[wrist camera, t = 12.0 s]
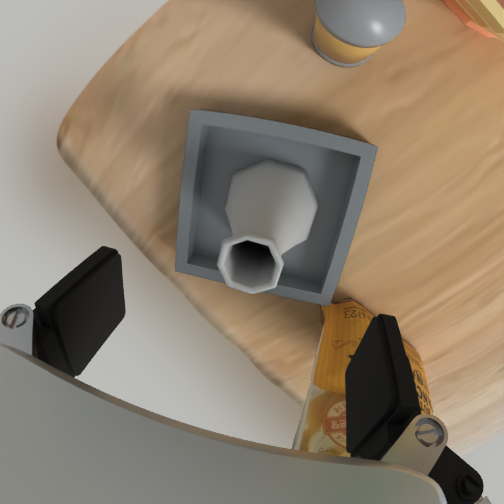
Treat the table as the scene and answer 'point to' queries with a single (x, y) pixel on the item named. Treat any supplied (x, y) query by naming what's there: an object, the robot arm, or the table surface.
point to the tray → (285, 151)
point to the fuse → (355, 28)
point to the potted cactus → (481, 15)
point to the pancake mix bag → (341, 379)
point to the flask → (264, 223)
